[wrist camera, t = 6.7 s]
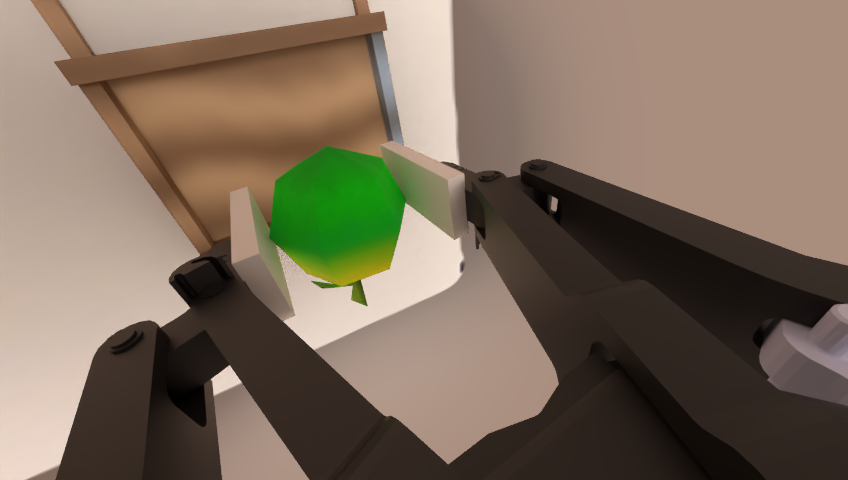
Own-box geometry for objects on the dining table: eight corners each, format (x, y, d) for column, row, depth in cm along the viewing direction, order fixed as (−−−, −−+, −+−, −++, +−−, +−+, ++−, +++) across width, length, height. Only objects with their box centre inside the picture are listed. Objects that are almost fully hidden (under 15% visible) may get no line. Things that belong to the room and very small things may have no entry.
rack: (-221, -367, 11) (-358, -500, 9) (308, -273, 18) (321, -332, 15) (209, 251, 28) (207, 271, 25) (401, 180, 34) (416, 190, 32)
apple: (351, 176, 9) (394, 362, 14) (423, 127, 14) (437, 277, 19) (193, 169, 12) (276, 330, 16) (302, 129, 17) (341, 262, 21)
